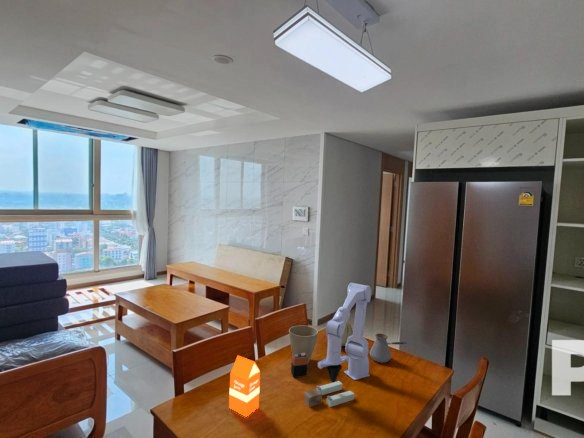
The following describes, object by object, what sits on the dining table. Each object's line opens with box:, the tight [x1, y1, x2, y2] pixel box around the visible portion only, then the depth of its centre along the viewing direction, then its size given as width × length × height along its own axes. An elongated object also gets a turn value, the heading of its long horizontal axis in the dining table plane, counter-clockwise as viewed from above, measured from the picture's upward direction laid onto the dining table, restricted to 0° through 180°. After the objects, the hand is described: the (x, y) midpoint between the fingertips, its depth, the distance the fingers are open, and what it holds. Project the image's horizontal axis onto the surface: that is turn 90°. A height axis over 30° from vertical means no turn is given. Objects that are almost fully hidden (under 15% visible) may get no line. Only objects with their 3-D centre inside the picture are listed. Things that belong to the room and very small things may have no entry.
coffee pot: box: [368, 333, 409, 364], centre depth 164 cm, size 21×12×15 cm, turn 34°
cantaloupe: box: [341, 321, 353, 347], centre depth 184 cm, size 15×15×15 cm
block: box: [303, 388, 323, 408], centre depth 128 cm, size 6×4×4 cm, turn 119°
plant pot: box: [288, 324, 319, 364], centre depth 162 cm, size 15×15×16 cm
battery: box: [290, 353, 309, 378], centre depth 149 cm, size 4×7×10 cm, turn 108°
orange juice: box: [228, 354, 261, 418], centre depth 122 cm, size 8×9×20 cm
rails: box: [315, 380, 355, 408], centre depth 133 cm, size 12×10×3 cm
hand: (332, 381), depth 133 cm, fingers closed
